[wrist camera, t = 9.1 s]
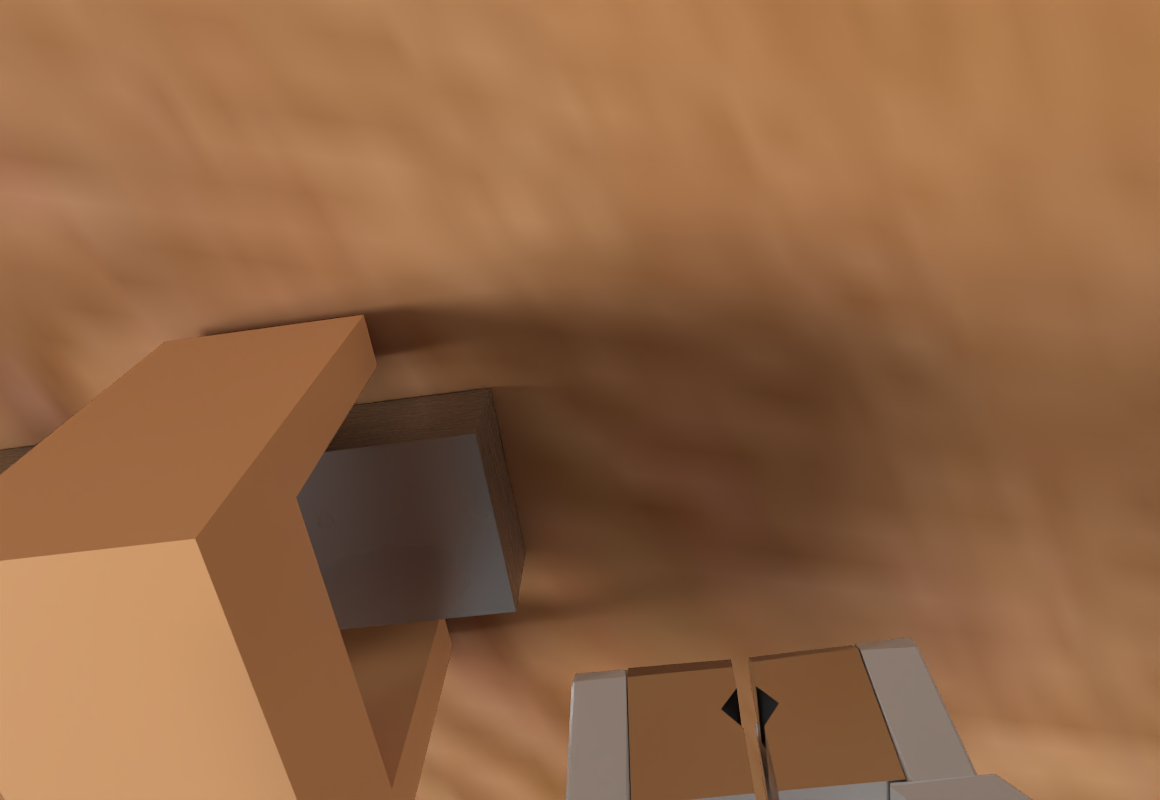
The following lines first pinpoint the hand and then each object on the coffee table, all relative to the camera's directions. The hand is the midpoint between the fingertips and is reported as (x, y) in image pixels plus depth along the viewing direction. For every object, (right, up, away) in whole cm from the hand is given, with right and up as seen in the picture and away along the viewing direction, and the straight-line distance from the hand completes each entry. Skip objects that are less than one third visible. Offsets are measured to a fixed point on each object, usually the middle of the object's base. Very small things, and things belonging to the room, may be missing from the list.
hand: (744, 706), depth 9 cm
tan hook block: (-6, +1, +6) cm, 8 cm away
